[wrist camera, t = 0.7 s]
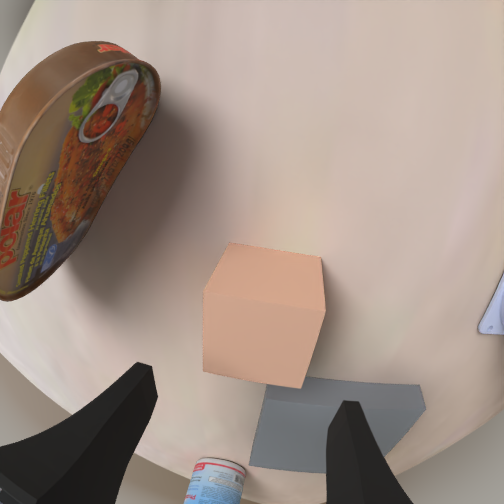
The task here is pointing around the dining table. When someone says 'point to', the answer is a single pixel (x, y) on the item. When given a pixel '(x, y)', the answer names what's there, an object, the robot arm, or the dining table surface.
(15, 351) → the dining table surface
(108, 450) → the robot arm
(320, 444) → the gray block
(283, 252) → the terracotta cube
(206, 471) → the pill bottle
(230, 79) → the dining table surface
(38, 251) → the tin
